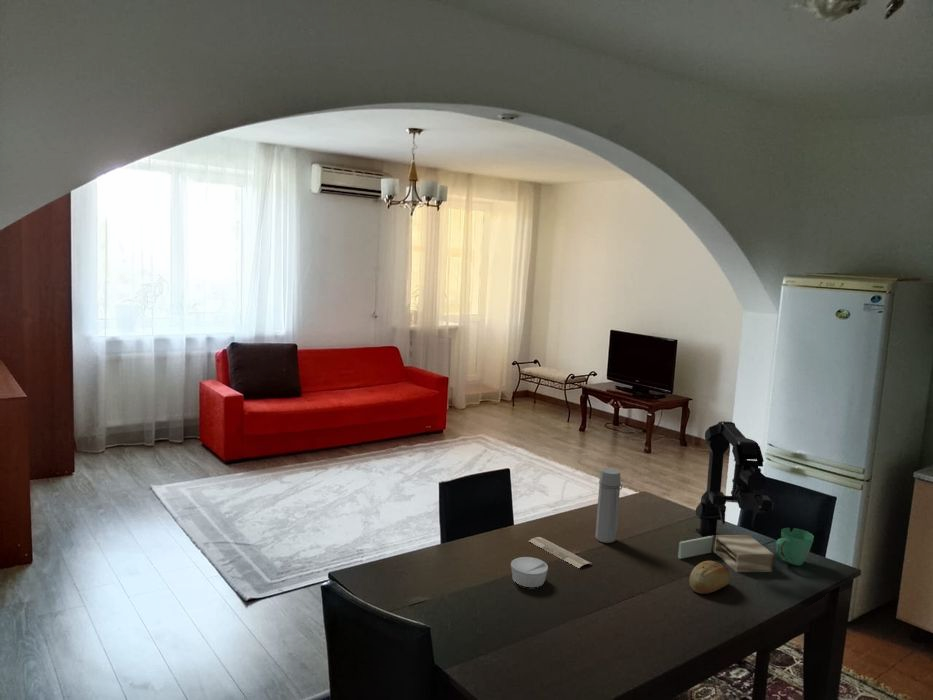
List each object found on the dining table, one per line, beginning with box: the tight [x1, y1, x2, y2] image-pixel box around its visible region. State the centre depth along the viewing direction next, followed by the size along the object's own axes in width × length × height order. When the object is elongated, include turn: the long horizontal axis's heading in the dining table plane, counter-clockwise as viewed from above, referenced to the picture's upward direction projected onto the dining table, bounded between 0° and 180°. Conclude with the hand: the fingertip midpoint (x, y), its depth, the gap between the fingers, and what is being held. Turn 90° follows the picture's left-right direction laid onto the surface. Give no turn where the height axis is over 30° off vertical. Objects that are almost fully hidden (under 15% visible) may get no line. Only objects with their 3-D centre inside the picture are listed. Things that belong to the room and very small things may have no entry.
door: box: [677, 535, 716, 560], centre depth 223 cm, size 15×1×6 cm, turn 116°
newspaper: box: [528, 536, 593, 569], centre depth 219 cm, size 24×7×2 cm, turn 37°
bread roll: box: [689, 560, 731, 595], centre depth 200 cm, size 10×15×8 cm, turn 129°
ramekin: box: [510, 556, 549, 588], centre depth 199 cm, size 11×11×5 cm
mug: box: [775, 527, 815, 566], centre depth 220 cm, size 15×10×10 cm
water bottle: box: [595, 467, 623, 544], centre depth 230 cm, size 9×8×25 cm
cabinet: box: [713, 534, 774, 573], centre depth 220 cm, size 15×12×6 cm
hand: (737, 525), depth 215 cm, fingers open, 9 cm apart
